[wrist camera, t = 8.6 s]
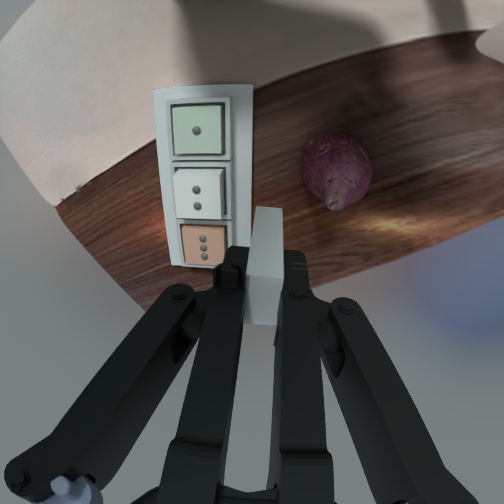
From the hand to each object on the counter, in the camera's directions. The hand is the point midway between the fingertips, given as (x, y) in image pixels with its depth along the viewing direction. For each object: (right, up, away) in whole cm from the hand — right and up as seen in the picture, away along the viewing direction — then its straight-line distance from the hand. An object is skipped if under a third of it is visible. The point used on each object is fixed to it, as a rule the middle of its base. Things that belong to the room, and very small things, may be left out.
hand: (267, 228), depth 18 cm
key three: (-8, +1, +31) cm, 32 cm away
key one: (-8, +16, +22) cm, 28 cm away
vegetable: (+11, +12, +25) cm, 29 cm away
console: (-8, +9, +28) cm, 30 cm away
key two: (-8, +8, +25) cm, 27 cm away
